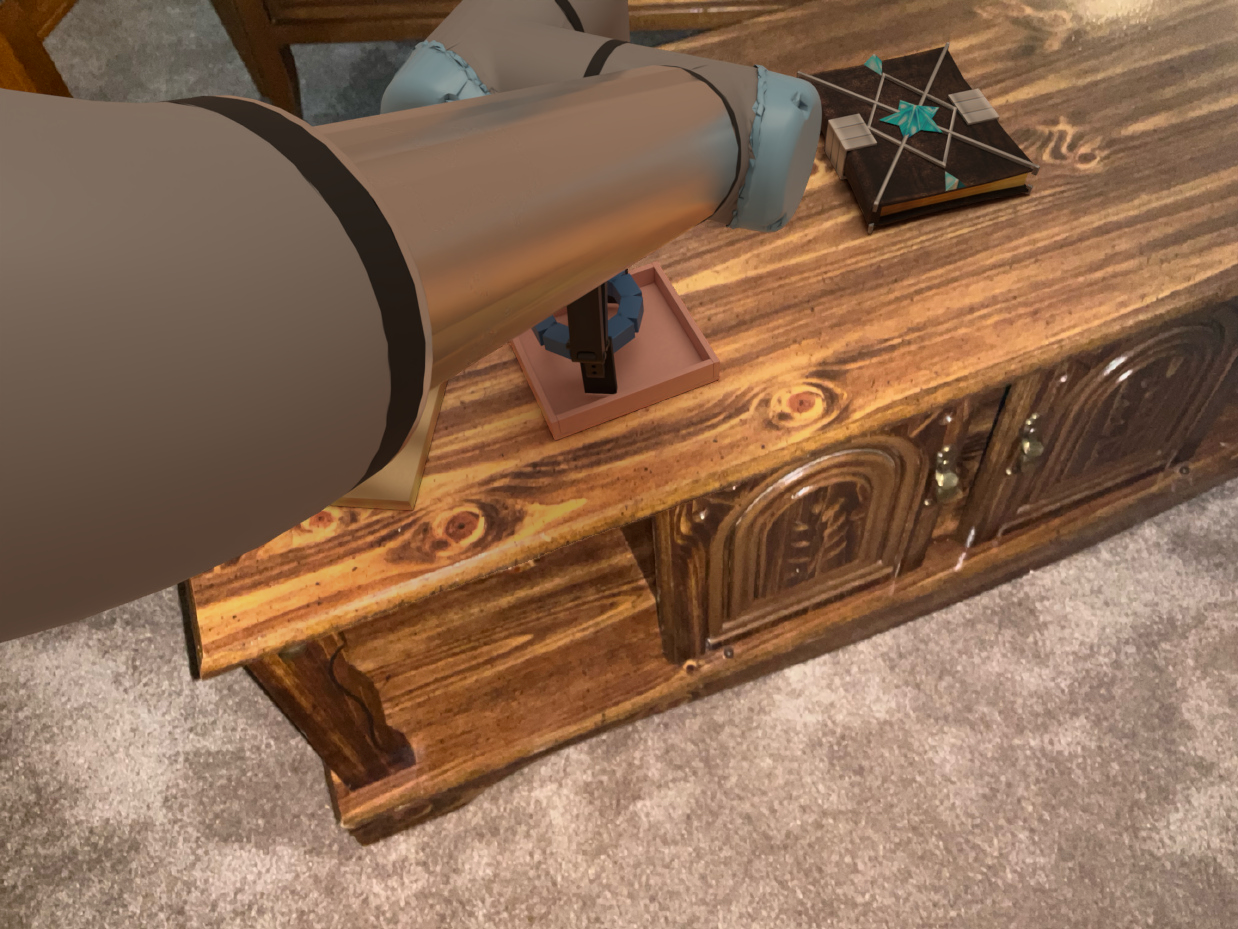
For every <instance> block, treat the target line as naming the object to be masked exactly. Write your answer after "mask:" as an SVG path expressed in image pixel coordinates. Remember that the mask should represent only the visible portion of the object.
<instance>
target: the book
mask: <svg viewBox="0 0 1238 929" xmlns="http://www.w3.org/2000/svg"><path fill="white" fill-rule="evenodd" d="M950 44H951V42H948V41H946V42H945V45H944V46H940V47H936V48H932V49H927V50H924V51H920V52H915V53H912V54H911V53H910V54H907V55H903V56H897V57H892V58H887V59H881V58H880V57H879V56H878V55H876V53H873V54H872V55H871V56H869V58H868V59H867V60H866V61H865V62H864V63H863V64H858V65H852V66H847V67H842V68H836V69H830V70H821V71H816V72H809V73H806V72H804V71H801V70H798V71H797V72H796V78H800V79H803V80H805V81H808V82H809V83H811V84H812V85H813V86H814V87H815V88H816V90H817V92H818V94H819V96H820V100H821V108H822V120H821V129H820V132H821V133H822V135H823V136H824V139H825V143H824V153H825V154H826V157H827V158H828V160H829V162H830V163H831V165H832V167H833V169H834V170H835V172H836V175H837V176H838V178H839V179H840V180H841V181H843V180H847V182H848V184H849V186H850V188H851V189H852V192H853V194H854V196H855V199H856V202H857V204H858V206H859V208H860V210H861V213H862V215H863V217H864V219H865V222H866V224H867V225H868V228H867V234H870V235H871V234H872V233H873V230H874V228H877V227H882V226H886V225H889V224H893V223H897V222H900V221H905V220H907V219H912V218H916V217H918V216H922V215H927V214H932V213H936V212H940V211H944V210H949V209H952V208H959V207H962V206H966V205H970V204H975V203H980V202H983V201H989V200H994V199H999V198H1004V197H1009V196H1010V197H1011V196H1014V195H1019V194H1026V195H1029V196H1030V195H1031V193H1032V190H1033V188H1034V185H1033V184H1030V183H1028V184H1026V180H1027V178H1028V175H1029V174H1030V173H1031V175H1033V176H1038V174H1039V171H1040V169H1041V165H1039V164H1036V163H1034V162H1033V161H1032V160H1031V159H1030V158H1029V156H1028V155H1027V154H1026V153H1025V152H1024V151H1023V150H1022V149H1021V147H1020V146H1019V145H1018V144H1017V143H1016V142H1015V141H1014V139H1013V138H1012V137H1011V136H1010V135H1009V134H1008V132H1007V131H1006V130H1005V129H1004V127H1003V126H1002V125H1001V124H1000V122H999V120H1000V117H1001V116H1000V114H999V113H998V112H997V111H996V109H995V108H994V107H993V105H992V104H991V102H990V101H989V100H988V99H987V98H986V96H985V95H984V94H983V92H982V91H981V90H980V88H979V87H978V88H974V89H973V88H972V87H971V86H970V84H969V82H967V80H966V79H965V78H964V76H963V74H962V72H961V70H960V69H959V67H958V65H957V64H956V62H955V59H954V58H953V56H952V54H951V52H950V51H949V49H950Z"/></svg>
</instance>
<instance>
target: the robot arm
mask: <svg viewBox="0 0 1238 929" xmlns="http://www.w3.org/2000/svg"><path fill="white" fill-rule="evenodd" d="M630 31H631V30H630V14H629V0H461V2H459V3H458V4H457V5H456V7H454V8H453V10H452V11H451V12H450V13H449V14H448V15H447V16H446V17H445V18H444V19H443V20H442V22H440V24H439V25H438V26H437V27H436V28H435V29H434V30H433V31H431V33H430V34H429V35H428V36H427V37H426V38H425V40H424V41H420V42H418V43H417V44H416V45H415V46H414V48H413V49H412V51H411V54H410V55H409V57H408V58H407V59H406V60H405V61H404V63H403V64H402V65H401V67H399V69H398V70H397V71H396V73H395V74H394V76H393V78H392V80H391V81H390V83H389V84H388V85H387V87H386V88H385V91H384V93H383V95H382V97H381V101H380V111H379V112H380V113H379V114H376V115H369V116H363V117H358V118H353V119H347V120H342V121H338V122H331V123H325V124H320V125H314V126H312V125H311V124H309V123H308V122H307V121H305V120H303V119H301V118H300V117H298V116H296V115H294V114H293V113H290V112H288V111H287V110H284V109H283V108H281V107H278V106H275V105H273V104H270V103H267V102H263V101H261V100H258V99H255V98H250V97H243V96H237V95H232V94H224V95H223V94H222V95H199V96H193V97H185V98H178V99H169V100H168V99H167V100H160V101H153V102H126V101H125V102H124V101H104V100H91V99H90V100H89V99H82V98H73V97H67V96H59V95H53V94H52V95H51V94H46V93H45V94H44V93H37V92H28V91H21V90H15V89H7V88H2V87H0V644H2V643H7V642H10V641H13V640H16V639H20V638H24V637H27V636H31V635H34V634H37V633H41V632H45V631H48V630H51V629H55V628H59V627H62V626H66V625H69V624H73V623H76V622H79V621H83V620H85V619H87V618H90V617H93V616H96V615H98V614H102V613H104V612H107V611H110V610H111V609H115V608H118V607H120V606H123V605H125V604H129V603H131V602H134V601H136V600H139V599H142V598H144V597H147V596H150V595H153V594H155V593H158V592H161V591H163V590H166V589H169V588H172V587H174V586H176V585H179V584H181V583H183V582H185V581H186V580H187V581H188V580H190V579H192V578H194V577H196V576H198V575H200V574H203V573H205V572H207V571H210V570H212V569H215V568H216V567H219V566H221V565H223V564H225V563H227V562H230V561H232V560H234V559H236V558H238V557H241V556H243V555H245V554H247V553H249V552H251V551H254V550H256V549H259V548H260V547H262V546H263V545H265V544H267V543H269V542H270V541H272V540H274V539H276V538H278V537H279V536H281V535H283V534H285V533H286V532H288V531H289V530H291V529H293V528H295V527H296V526H299V525H300V524H302V523H304V522H306V521H307V520H309V519H310V518H312V517H314V516H315V515H318V514H320V513H321V512H322V511H324V510H325V509H326V508H328V507H329V506H330V505H331V504H332V503H334V502H335V501H336V500H338V499H339V498H341V497H342V496H344V495H345V494H347V493H348V492H350V491H351V490H353V489H354V488H355V487H357V486H358V485H360V484H361V483H363V482H364V481H366V480H367V479H369V478H370V477H372V476H373V475H375V474H376V473H377V472H379V471H380V470H382V469H383V468H384V467H385V466H386V465H388V464H389V463H390V462H392V461H393V459H394V458H395V457H396V456H397V455H398V454H399V453H400V452H401V451H402V450H403V448H404V447H405V446H406V445H407V443H408V442H409V440H410V438H411V437H412V435H413V433H414V432H415V430H416V429H417V427H418V424H419V422H420V419H421V417H422V414H423V412H424V409H425V406H426V402H427V398H428V394H429V391H431V390H432V389H434V388H436V387H437V386H439V385H441V384H442V383H444V382H445V381H447V380H448V381H449V380H450V379H452V378H453V377H455V376H457V375H458V374H460V373H461V372H463V371H464V370H466V369H468V368H470V367H471V366H473V365H474V364H476V363H477V362H479V361H481V360H482V359H484V358H485V357H487V356H488V355H491V354H492V353H494V352H495V351H497V350H498V349H500V348H502V347H503V346H505V345H507V344H508V343H510V341H511V340H513V339H514V338H516V337H518V336H519V335H521V334H523V333H524V332H526V331H527V330H529V329H531V328H532V327H534V326H535V325H537V324H539V323H540V322H542V321H543V320H545V319H547V318H548V317H550V316H551V315H553V314H555V313H556V312H558V311H559V310H561V309H563V308H564V307H566V306H567V316H568V327H569V338H570V339H568V341H567V343H566V349H567V350H571V352H570V357H571V361H572V362H579V363H580V366H581V372H582V378H583V385H584V391H585V393H593V394H616V393H617V388H618V386H617V378H616V369H615V361H614V353H613V344H612V336H608V303H613V304H618V303H617V302H616V300H615V298H614V297H612V296H609V295H607V281H608V280H609V279H611V278H613V277H614V276H616V275H617V274H619V273H621V272H622V271H624V270H625V275H626V274H628V271H629V268H630V267H632V266H634V265H635V264H637V263H638V262H640V261H642V260H643V259H645V258H646V257H648V256H650V255H652V254H653V253H654V252H656V251H658V250H660V249H661V248H662V247H664V246H666V245H667V244H669V243H670V242H672V241H674V240H675V239H677V238H679V237H680V236H682V235H683V234H685V233H686V232H688V231H690V230H691V229H693V228H695V227H698V225H702V223H705V222H706V221H713V222H716V223H719V224H723V225H725V227H726V229H731V230H737V229H741V230H748V231H754V232H760V233H767V234H770V233H775V232H779V231H780V230H782V229H783V228H784V227H786V226H787V225H788V224H789V223H790V222H791V220H792V218H794V216H795V214H796V212H797V210H798V209H799V206H800V204H801V201H802V200H803V197H804V194H805V192H806V189H807V186H808V183H809V182H810V181H809V180H810V178H811V174H812V171H813V167H814V163H815V159H816V155H817V150H818V145H819V141H820V136H821V135H820V134H821V120H822V108H821V100H820V96H819V94H818V92H817V90H816V88H815V87H814V86H813V85H812V84H811V83H809V82H808V81H805V80H803V79H800V78H797V76H792V75H788V74H783V73H781V72H780V73H779V72H776V71H773V70H768V69H767V68H766V67H765V66H764V65H761V64H755V63H754V64H753V65H752V66H751V65H746V64H740V63H735V62H729V61H724V60H719V59H714V58H708V57H703V56H698V55H693V54H688V53H683V52H679V51H678V52H677V51H672V50H667V49H662V48H658V47H657V48H656V47H651V46H646V45H640V44H636V43H631V33H630ZM448 381H447V382H448Z"/></svg>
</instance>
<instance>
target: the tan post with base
mask: <svg viewBox="0 0 1238 929" xmlns="http://www.w3.org/2000/svg"><path fill="white" fill-rule="evenodd" d="M448 381H449V380H447V381H445V382H444V383H442V384H441V385H439V386H437V387H436V388H434V389H432V390H431V391H429V394H428V398H427V402H426V406H425V409H424V412H423V414H422V417H421V419H420V422H419V424H418V427H417V429H416V430H415V432H414V433H413V435H412V437H411V438H410V440H409V442H408V443H407V445H406V446H405V447H404V448H403V450H402V451H401V452H400V453H399V454H398V455H397V456H396V457H395V458H394V459H393V461H392V462H390V463H389V464H388V465H386V466H385V467H384V468H383V469H382V470H380V471H379V472H377V473H376V474H375V475H373V476H372V477H370V478H369V479H367V480H366V481H364V482H363V483H361V484H360V485H358V486H357V487H355V488H354V489H353V490H351V491H350V492H348V493H347V494H345V495H344V496H342V497H341V498H339V499H338V500H336V501H335V502H334V503H332V504H331V505H329V506H333V507H348V508H349V507H350V508H366V509H380V510H381V509H382V510H395V511H396V510H399V511H414V508H415V505H416V500H417V497H418V494H419V489H420V487H421V486H420V485H421V482H422V479H423V474H424V471H425V467H426V464H427V460H428V457H429V456H428V455H429V452H430V448H431V444H432V441H433V437H434V433H435V430H436V427H437V422H438V419H439V415H440V411H441V407H442V404H443V400H444V395H445V392H446V388H447V385H448Z"/></svg>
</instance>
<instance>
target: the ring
mask: <svg viewBox="0 0 1238 929" xmlns="http://www.w3.org/2000/svg"><path fill="white" fill-rule="evenodd" d="M607 295H609V296H612V297H614V298H615V300H616V302H617V303H618V305H619V307H618V311H617V314H616V315H615V316H613V317H612V318H610V319H609V320H608V336H612V344H613V353H615V352H617V351H618V350H619V349H621V348H622V347H623V346H625V345H626V344H627V343H629V342H630V341H631V340H633V339H634V338H635V333H638V332H639V329H640V325H641V321H642V317H643V313H644V305H643V297H642V291H641V290H640V288H639V287H638V285H637V284H636V282H635V281H634V279H633V278H632V276H631V275H630V273H629V274H626V275H625V270H624V271H622V272H621V273H619V274H617V275H616V276H614V277H613V278H611V279H609V280H608V281H607ZM531 329H532V331H533V333H534V334H535V336H536V338H537V340H538V342H539V343H540V345H541V346H543V345H545V350H547V351H550V352H553V353H555V354H558V355H560V356H563V357H565V358H568V359H570V360H571V357H570V352H571V350H567V349H566V343H567V341H568V339H570V338H569V327H568V326H566V325H563V324H561V323H558V322H557V321H556V320H555V318H554V316H553V315H551V316H550V317H548V318H547V319H545V320H543V321H542V322H540V323H539V324H537V325H535V326H534V327H532V328H531Z"/></svg>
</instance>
